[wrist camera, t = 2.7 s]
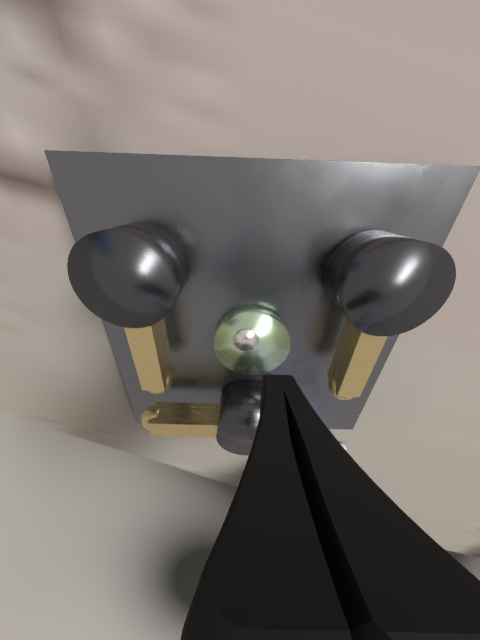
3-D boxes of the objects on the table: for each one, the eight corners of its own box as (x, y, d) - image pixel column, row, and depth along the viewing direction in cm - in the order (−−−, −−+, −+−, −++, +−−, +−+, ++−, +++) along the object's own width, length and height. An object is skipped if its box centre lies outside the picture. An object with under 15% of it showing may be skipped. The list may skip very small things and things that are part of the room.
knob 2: (277, 381, 16) (283, 419, 14) (271, 417, 19) (276, 456, 16) (145, 377, 16) (126, 414, 14) (155, 414, 19) (140, 452, 16)
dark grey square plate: (346, 417, 21) (358, 442, 19) (142, 411, 21) (131, 435, 19) (459, 169, 11) (510, 163, 9) (63, 154, 11) (20, 145, 9)
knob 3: (333, 228, 11) (364, 239, 8) (419, 231, 11) (479, 243, 8) (299, 373, 16) (311, 410, 13) (358, 375, 16) (382, 413, 13)
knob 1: (98, 220, 11) (49, 228, 8) (185, 223, 11) (165, 232, 8) (139, 368, 16) (118, 404, 13) (198, 370, 16) (189, 407, 13)
